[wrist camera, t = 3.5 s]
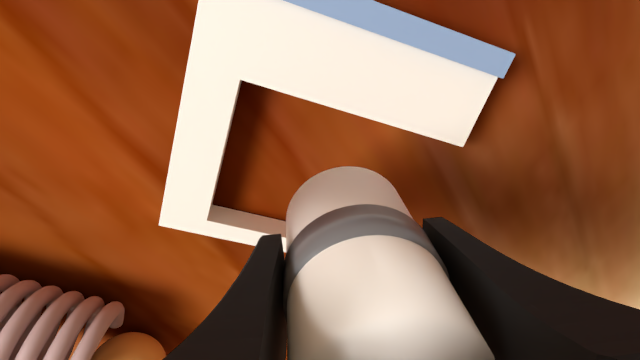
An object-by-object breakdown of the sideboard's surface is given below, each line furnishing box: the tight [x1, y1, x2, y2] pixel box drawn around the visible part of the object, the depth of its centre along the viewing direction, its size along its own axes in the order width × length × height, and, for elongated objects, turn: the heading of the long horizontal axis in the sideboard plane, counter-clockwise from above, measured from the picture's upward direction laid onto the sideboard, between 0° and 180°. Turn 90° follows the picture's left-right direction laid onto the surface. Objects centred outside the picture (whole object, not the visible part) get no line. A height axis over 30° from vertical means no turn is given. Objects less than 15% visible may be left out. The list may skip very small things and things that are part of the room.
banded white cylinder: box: [283, 166, 495, 360], centre depth 11 cm, size 5×5×7 cm
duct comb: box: [159, 0, 516, 252], centre depth 15 cm, size 12×19×2 cm, turn 162°
